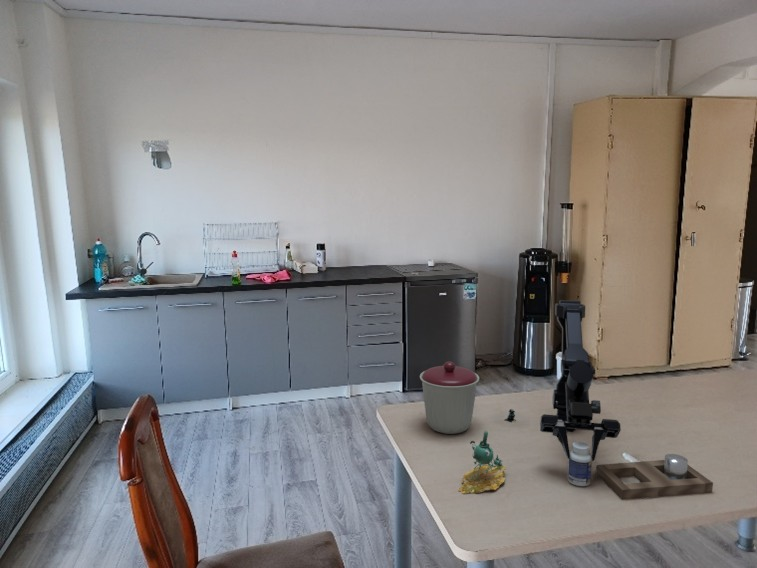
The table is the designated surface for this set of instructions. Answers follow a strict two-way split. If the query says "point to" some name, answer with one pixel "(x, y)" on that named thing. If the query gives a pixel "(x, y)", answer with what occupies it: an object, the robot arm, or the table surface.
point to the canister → (449, 397)
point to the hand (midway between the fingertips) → (580, 459)
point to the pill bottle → (579, 464)
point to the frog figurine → (483, 470)
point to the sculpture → (511, 416)
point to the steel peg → (675, 467)
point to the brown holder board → (650, 480)
